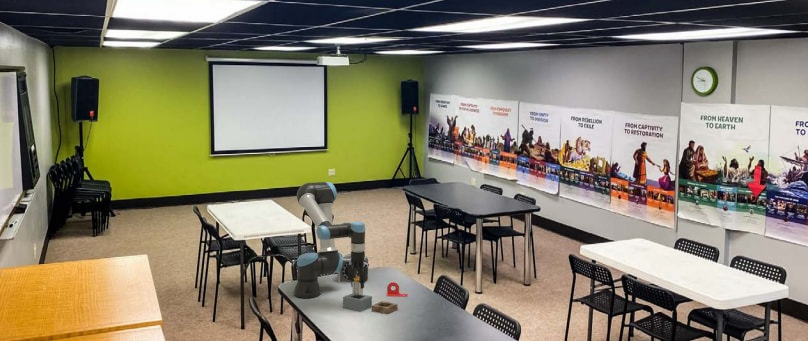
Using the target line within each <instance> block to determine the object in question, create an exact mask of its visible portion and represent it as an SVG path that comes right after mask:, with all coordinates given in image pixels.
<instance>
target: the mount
mask: <svg viewBox="0 0 808 341" xmlns="http://www.w3.org/2000/svg"><path fill="white" fill-rule="evenodd" d="M398 305H399V304H398V303H394V302H390V301H383V300H381V301H379V302H377V303H374V304H372V307H371V312H375V313H381V314H384V315H385V314H386V315H389V314H390V313H394V312H395V311H397V310H398Z"/></svg>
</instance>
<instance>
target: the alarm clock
mask: <svg viewBox="0 0 808 341" xmlns="http://www.w3.org/2000/svg"><path fill="white" fill-rule="evenodd" d="M342 258H343V265H342V268H341V270H340V271H339V272H337V283H338V284H346V283H351V280H349V279H348V266H347V262H348V261H351V253H349V254H343V255H342ZM364 260H365V263H367V264H369V258H368V256H367V255H365V258H364ZM352 267H353V265H352ZM352 270H353V269H352ZM363 272H364V265H363ZM356 277H359V270H358V268H357V272H356ZM365 283H366V282H364V284H365Z"/></svg>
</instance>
